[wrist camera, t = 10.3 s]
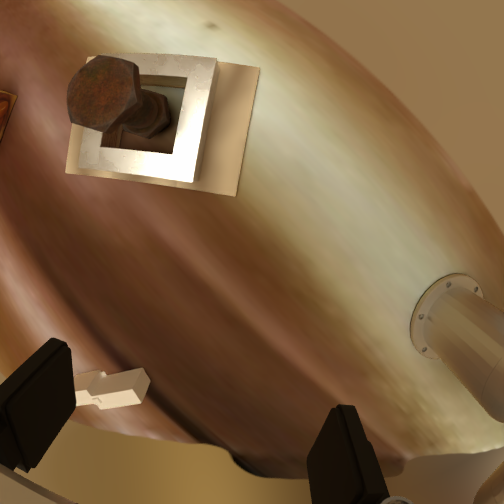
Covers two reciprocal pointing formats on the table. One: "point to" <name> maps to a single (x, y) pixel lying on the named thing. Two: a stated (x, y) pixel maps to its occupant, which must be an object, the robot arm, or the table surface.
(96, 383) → the beige stepped block
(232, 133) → the beech board
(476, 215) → the table surface
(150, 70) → the steel socket collar
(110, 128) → the bolt
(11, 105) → the candy box
